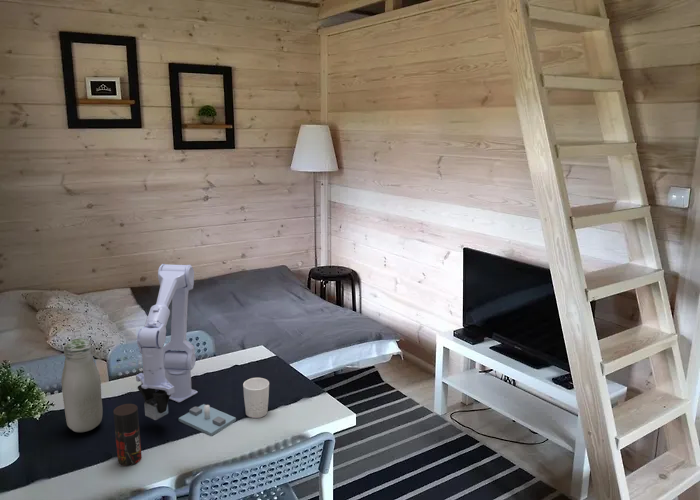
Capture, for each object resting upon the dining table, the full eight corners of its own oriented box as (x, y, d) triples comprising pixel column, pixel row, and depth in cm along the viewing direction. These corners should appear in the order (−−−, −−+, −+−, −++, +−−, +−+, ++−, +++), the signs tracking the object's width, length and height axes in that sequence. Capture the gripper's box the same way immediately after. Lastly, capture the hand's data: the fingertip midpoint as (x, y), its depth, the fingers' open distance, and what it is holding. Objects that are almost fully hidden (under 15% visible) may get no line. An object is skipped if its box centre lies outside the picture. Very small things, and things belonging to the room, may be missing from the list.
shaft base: (178, 421, 167) (177, 406, 166) (203, 406, 175) (203, 392, 174) (211, 436, 160) (210, 420, 158) (236, 420, 168) (235, 405, 167)
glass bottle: (75, 442, 155) (65, 351, 148) (61, 428, 162) (51, 339, 155) (110, 428, 162) (102, 340, 155) (95, 415, 169) (86, 330, 162)
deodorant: (122, 452, 151) (117, 403, 147) (144, 452, 152) (140, 403, 148) (114, 466, 145) (110, 415, 142) (138, 465, 146) (133, 415, 142)
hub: (145, 415, 161) (144, 401, 160) (158, 408, 165) (157, 395, 164) (155, 420, 159) (154, 406, 158) (168, 413, 163) (167, 399, 162)
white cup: (264, 420, 168) (264, 391, 166) (240, 417, 169) (239, 388, 167) (272, 407, 176) (272, 379, 173) (248, 404, 177) (248, 376, 174)
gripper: (125, 365, 159) (129, 407, 162) (158, 379, 151) (162, 423, 155) (146, 356, 164) (149, 397, 168) (179, 369, 157) (181, 412, 160)
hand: (156, 409), depth 162 cm, fingers closed on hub, 5 cm apart
